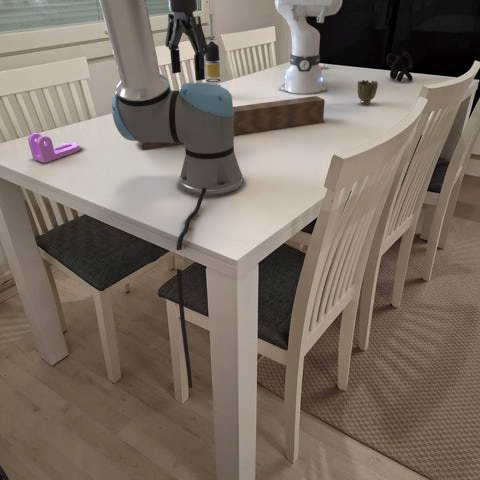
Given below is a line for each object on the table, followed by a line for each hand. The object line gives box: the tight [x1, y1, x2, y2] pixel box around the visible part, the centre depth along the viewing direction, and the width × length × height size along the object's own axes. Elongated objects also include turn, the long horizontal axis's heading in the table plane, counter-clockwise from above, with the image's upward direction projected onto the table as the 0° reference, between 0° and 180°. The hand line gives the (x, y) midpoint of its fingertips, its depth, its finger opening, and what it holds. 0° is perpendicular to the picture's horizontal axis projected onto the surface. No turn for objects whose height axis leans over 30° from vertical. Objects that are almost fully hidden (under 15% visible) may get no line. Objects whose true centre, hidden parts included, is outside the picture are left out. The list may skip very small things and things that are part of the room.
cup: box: [357, 79, 379, 106], centre depth 166 cm, size 8×7×8 cm
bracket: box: [27, 132, 81, 164], centre depth 127 cm, size 13×6×7 cm, turn 143°
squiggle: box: [385, 51, 414, 83], centre depth 198 cm, size 11×10×15 cm
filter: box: [204, 13, 222, 87], centre depth 175 cm, size 6×6×30 cm
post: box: [138, 95, 326, 150], centre depth 141 cm, size 62×5×8 cm, turn 112°
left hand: (188, 76), depth 133 cm, fingers open, 13 cm apart
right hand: (307, 22), depth 140 cm, fingers open, 8 cm apart
